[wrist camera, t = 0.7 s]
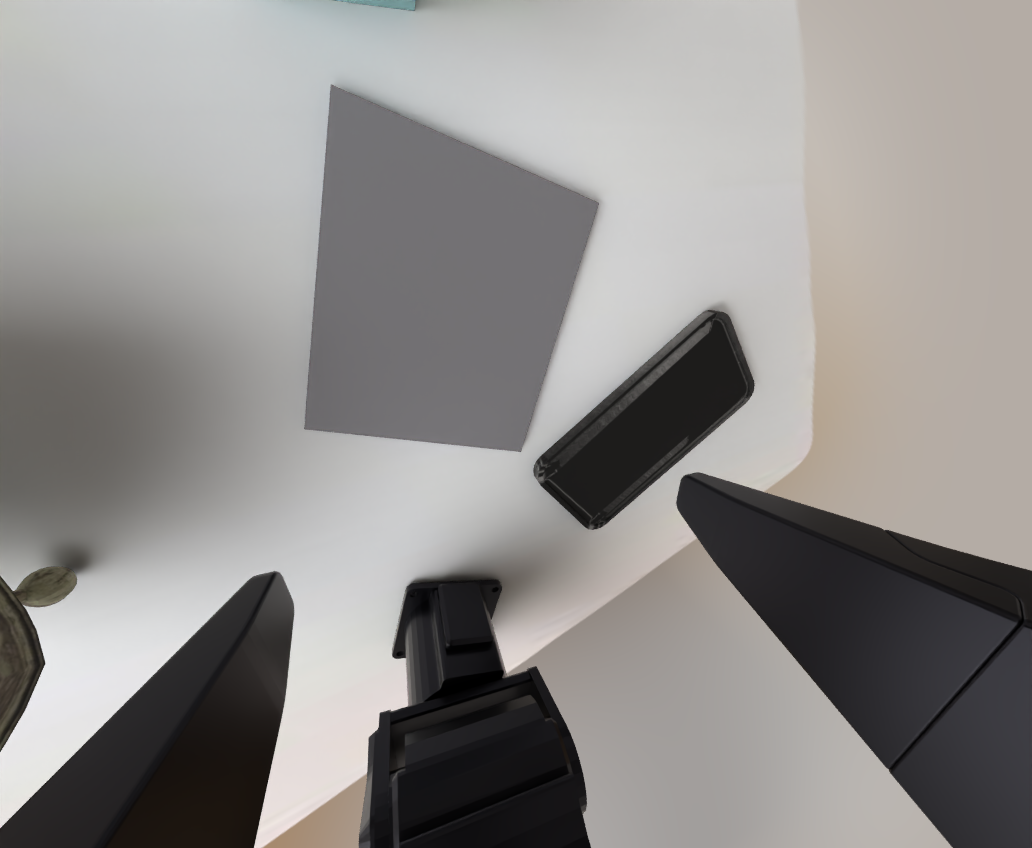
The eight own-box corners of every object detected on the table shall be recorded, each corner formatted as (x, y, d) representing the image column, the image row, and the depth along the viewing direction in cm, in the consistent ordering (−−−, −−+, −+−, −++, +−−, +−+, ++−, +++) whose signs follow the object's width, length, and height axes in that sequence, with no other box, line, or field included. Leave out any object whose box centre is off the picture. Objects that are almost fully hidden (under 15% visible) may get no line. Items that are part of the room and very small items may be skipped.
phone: (530, 475, 22) (725, 303, 21) (524, 466, 23) (709, 300, 22) (594, 535, 26) (758, 393, 25) (586, 525, 27) (745, 388, 26)
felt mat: (518, 447, 21) (520, 451, 21) (306, 424, 17) (304, 429, 17) (593, 204, 17) (599, 202, 16) (332, 90, 13) (331, 84, 12)
